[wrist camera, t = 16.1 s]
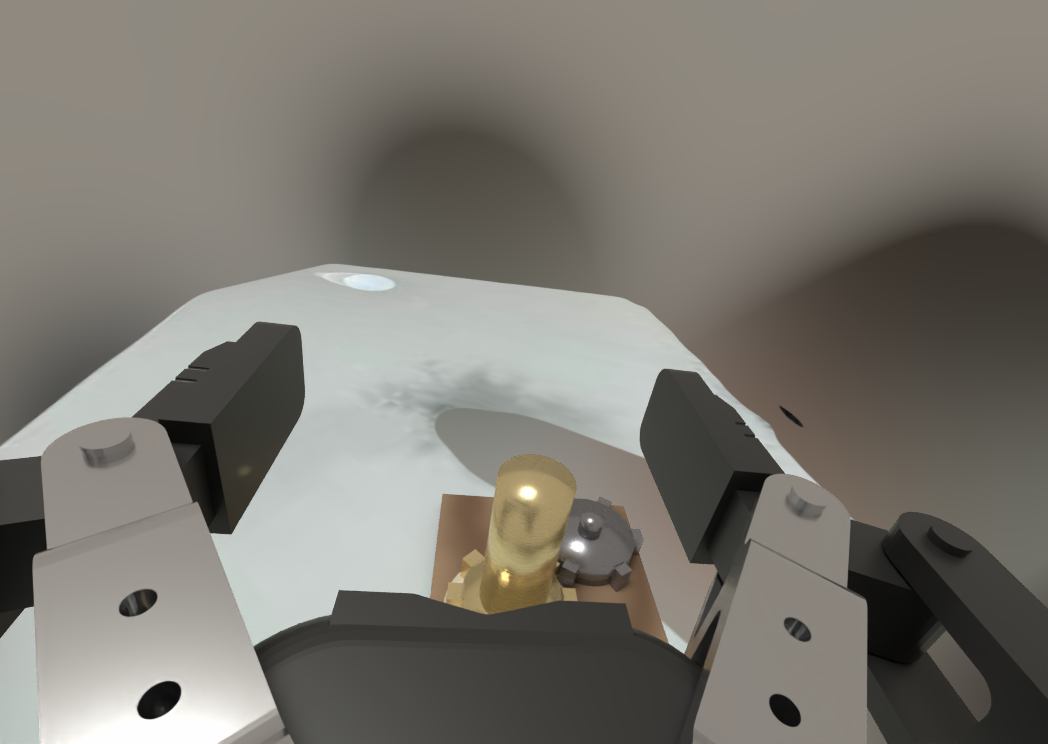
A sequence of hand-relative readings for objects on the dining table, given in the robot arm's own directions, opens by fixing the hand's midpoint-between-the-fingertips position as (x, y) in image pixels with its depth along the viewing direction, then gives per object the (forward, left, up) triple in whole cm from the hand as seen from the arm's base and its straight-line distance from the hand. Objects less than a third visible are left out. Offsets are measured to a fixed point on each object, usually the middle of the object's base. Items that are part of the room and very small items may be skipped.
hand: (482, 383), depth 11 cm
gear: (+12, +20, -28) cm, 36 cm away
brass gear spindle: (+5, +14, -28) cm, 31 cm away
